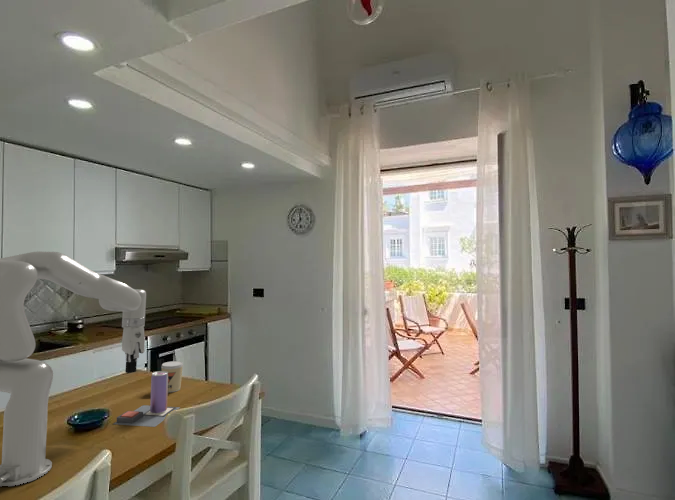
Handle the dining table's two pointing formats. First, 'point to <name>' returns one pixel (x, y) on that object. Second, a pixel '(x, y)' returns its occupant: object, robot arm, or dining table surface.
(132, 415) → the button
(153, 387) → the beverage can
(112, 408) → the dining table surface
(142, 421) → the picture board
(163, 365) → the coffee cup
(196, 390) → the dining table surface
